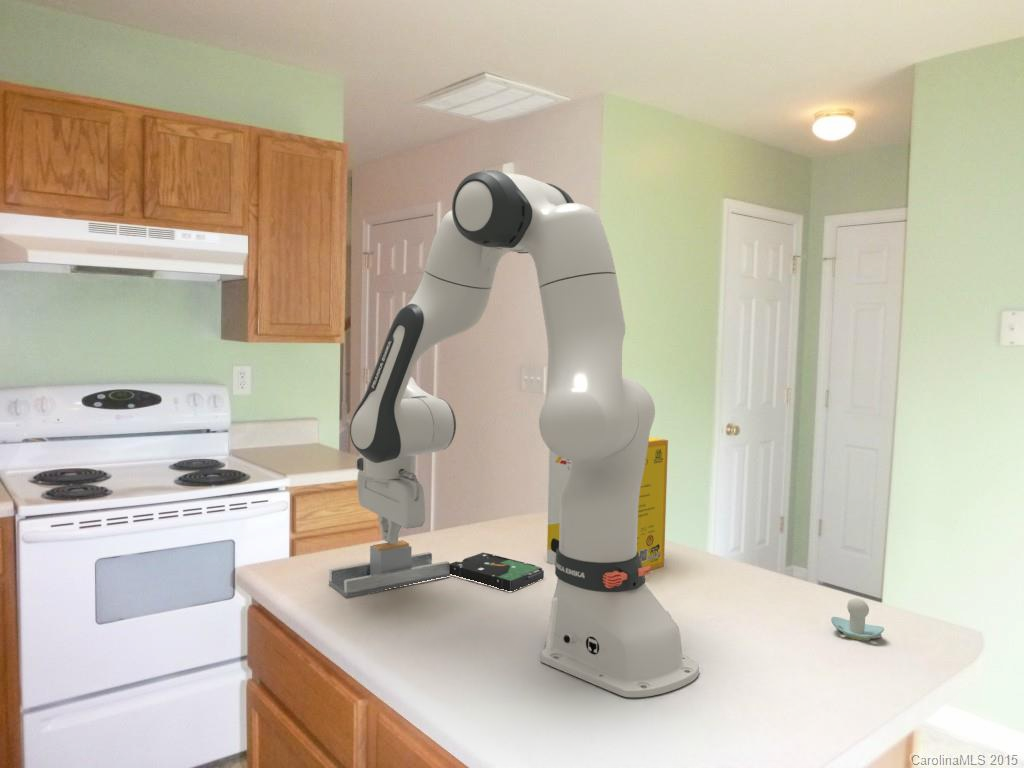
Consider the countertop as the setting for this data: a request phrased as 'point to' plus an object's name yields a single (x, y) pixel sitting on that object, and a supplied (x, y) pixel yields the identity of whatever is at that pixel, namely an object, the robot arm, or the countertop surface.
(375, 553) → the module
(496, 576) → the disk drive
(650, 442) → the packaging box
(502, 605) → the countertop surface
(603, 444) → the robot arm
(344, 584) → the rail
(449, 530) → the countertop surface
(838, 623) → the pacifier
